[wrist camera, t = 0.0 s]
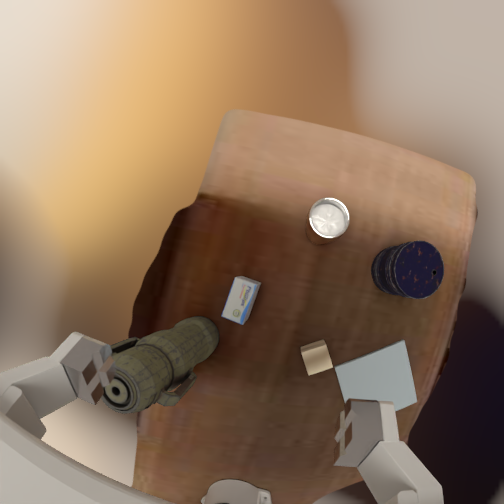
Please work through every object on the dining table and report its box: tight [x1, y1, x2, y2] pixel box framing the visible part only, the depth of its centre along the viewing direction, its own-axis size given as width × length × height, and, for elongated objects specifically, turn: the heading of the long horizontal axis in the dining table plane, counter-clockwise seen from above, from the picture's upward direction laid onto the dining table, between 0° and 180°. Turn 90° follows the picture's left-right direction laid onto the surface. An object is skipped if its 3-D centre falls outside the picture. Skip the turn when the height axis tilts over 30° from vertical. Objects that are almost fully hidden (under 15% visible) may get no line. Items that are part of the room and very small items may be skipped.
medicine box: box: [221, 276, 261, 325], centre depth 60 cm, size 8×4×9 cm, turn 160°
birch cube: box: [300, 339, 333, 375], centre depth 59 cm, size 5×5×5 cm
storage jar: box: [371, 241, 444, 299], centre depth 53 cm, size 10×10×15 cm
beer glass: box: [306, 197, 350, 245], centre depth 56 cm, size 7×7×15 cm
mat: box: [334, 339, 417, 411], centre depth 59 cm, size 16×16×1 cm
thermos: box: [101, 316, 219, 413], centre depth 47 cm, size 9×12×35 cm
